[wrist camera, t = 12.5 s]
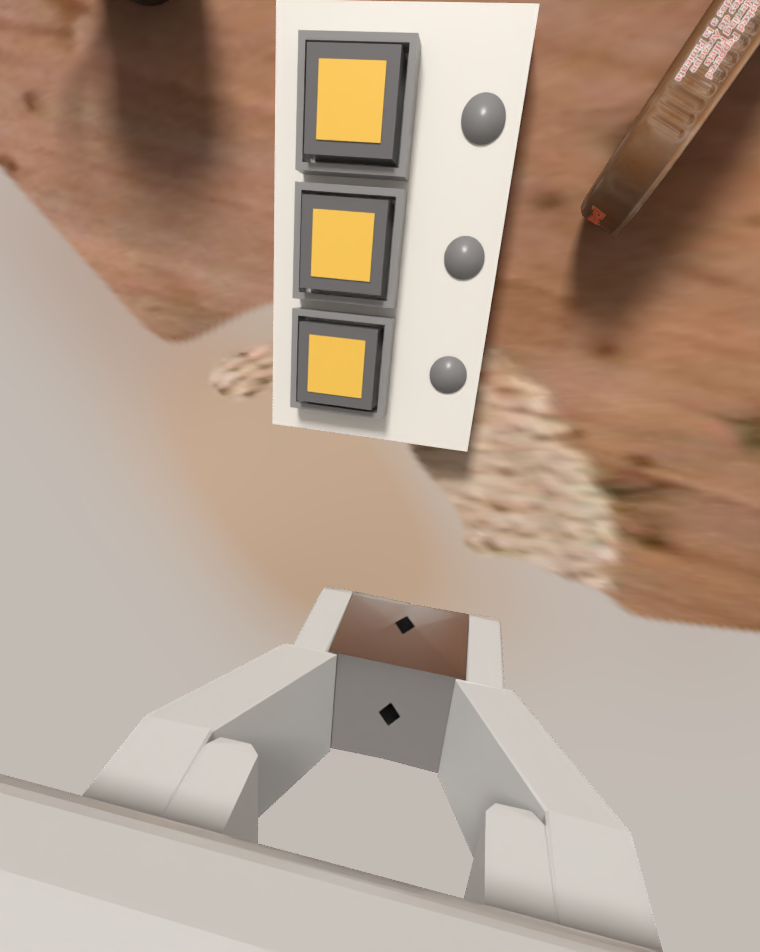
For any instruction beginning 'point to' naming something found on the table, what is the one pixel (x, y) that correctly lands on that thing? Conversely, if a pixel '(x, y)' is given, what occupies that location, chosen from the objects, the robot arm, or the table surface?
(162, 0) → the coffee mug
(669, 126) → the tin
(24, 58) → the table surface
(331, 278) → the button middle
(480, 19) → the button panel
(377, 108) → the button
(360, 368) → the button
